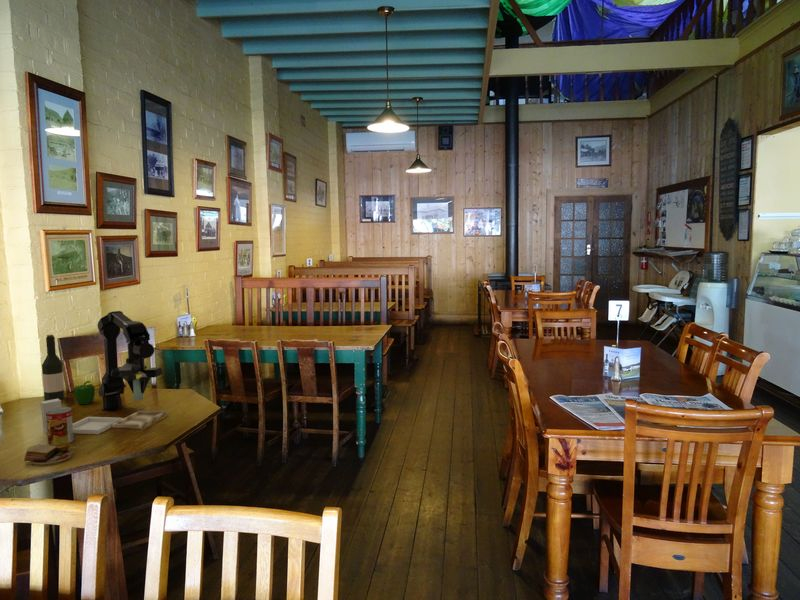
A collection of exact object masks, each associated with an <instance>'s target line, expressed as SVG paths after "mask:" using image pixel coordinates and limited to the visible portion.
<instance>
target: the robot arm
mask: <svg viewBox="0 0 800 600" xmlns="http://www.w3.org/2000/svg"><path fill="white" fill-rule="evenodd" d="M97 329H98V333H99V334H100V337H102V338H103V344H104V345H103V346H104V347H103V348H104V363H105V372H104V375H102V376H103V377H102V378H101V384H100V386H99V389H98V396H99V397H101V398H102V404H103V405H102V406H103V407H102V408H101V409H100V410H101V411H112V412H113V411H118V410H120V409H121V408H123V407H124V405H123V404H122V403H123V401H122V396H121V395H122V394H123V395H124V391H125V382H124V380H125V381H126V382H127V384H128V386H129V388H130V390H131V392H132V394H134V391H133V380H134V379H137V375H141V376H140V377H139V378H138V379H140V381H141V393H142V394H143V395H144V394H145V391H146V390H147V386H148V384H149V382H150V381H151V378H157V377H160V376H162V375H163V374H164V373H163V372H164V371H163V369H162V368H161V367H150V368H148V367H147V365H146V364H145V362H146V361H145V359H148V358H151V357H152V356H153V355H154V353H155V346H153V344H151V343H149V341H150V340H151V337H150V336H151V335H150V333H149V331H148V329H147V327H146V325H145V324H144V323H143V322H141V321H137V320H135V321H134V320H132V319H131V318H130V317H128V316H127V315H125V314H124V312H123V311H121V310H113V311H110V312H108V313H107V314H106V315H104V316H102V317H101V318H100V319H99V321H98V322H97ZM121 330H122V334H123V336H124V337H125V340H126V342H125V343H127V358H126V359H125V363H124V364H123V365H122V366H119V363H118V361H119V359H118V343H117V340H118V339H117V338H118V337H119V335H120V333H121Z"/></svg>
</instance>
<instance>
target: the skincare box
mask: <svg viewBox="0 0 800 600" xmlns="http://www.w3.org/2000/svg"><path fill="white" fill-rule="evenodd" d="M60 407H62V400H59V399H53V400H48V401H45V400H44V401H43V400H42V401H40V409H41V410H40V411H41V418H42V419H41V421H42V430H43V432H44V433H45V434H48V433H47V420H46V411H48V410H50V409H54V408H60Z"/></svg>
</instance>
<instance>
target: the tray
mask: <svg viewBox="0 0 800 600" xmlns="http://www.w3.org/2000/svg"><path fill="white" fill-rule="evenodd" d="M165 415H166V416H167V411H165V410H137V411H136V412H134V413H133V412H132V414H129V415H127V416H126V417H124V418H123V417H122V418H123V419H121V420H120V421H118V422H116V423H114V424H112V427H111V428H112V429H114V428H115V429H135V430H136V429H139V430H140V429H142V430H143V429H145V428H147V427H149V426H150V425H149V424H151V423H152V424H154V423H156V422H157V421H156V420H158V419H159V420H161V419H162V417H163V418H164V416H165ZM166 416H165V417H166ZM160 418H161V419H160ZM159 420H158V421H159ZM155 421H156V422H155ZM153 422H154V423H153ZM152 424H151V425H152ZM148 425H149V426H148ZM146 426H147V427H146ZM144 427H145V428H144Z"/></svg>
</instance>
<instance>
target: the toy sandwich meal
mask: <svg viewBox="0 0 800 600" xmlns="http://www.w3.org/2000/svg"><path fill="white" fill-rule="evenodd" d="M70 447H71V442H69V443H66V444H64V445H58V446H52V445H49V444H41V443H38V444H35V445H33V446H30V447H28V448H27V449H26V452H25V454H24V455H25V456H24V460H23V461H24V462H29V463H30V464H32V465H34V466H38V465H44V466H50V464H52V465H56V464H55V463H57V464H60V463H63V462H65V460H66V461H68V460H70V458H71V457H72V456H73V455H74V451H73V450H71V449H70ZM67 459H68V460H67ZM62 461H63V462H62ZM59 462H60V463H59Z"/></svg>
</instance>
